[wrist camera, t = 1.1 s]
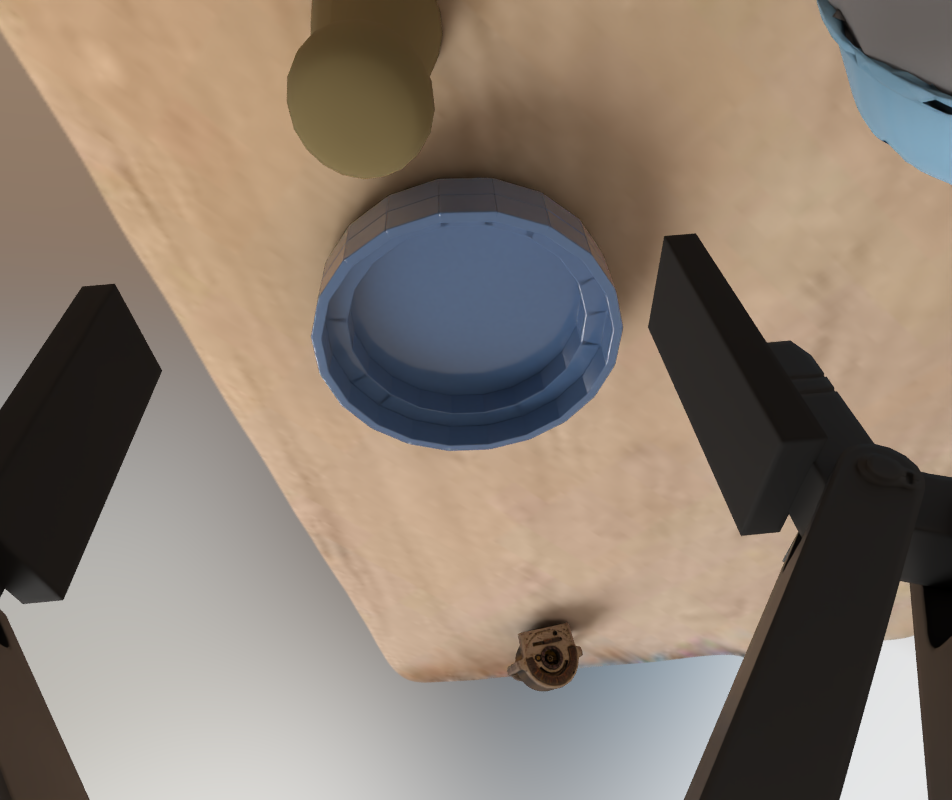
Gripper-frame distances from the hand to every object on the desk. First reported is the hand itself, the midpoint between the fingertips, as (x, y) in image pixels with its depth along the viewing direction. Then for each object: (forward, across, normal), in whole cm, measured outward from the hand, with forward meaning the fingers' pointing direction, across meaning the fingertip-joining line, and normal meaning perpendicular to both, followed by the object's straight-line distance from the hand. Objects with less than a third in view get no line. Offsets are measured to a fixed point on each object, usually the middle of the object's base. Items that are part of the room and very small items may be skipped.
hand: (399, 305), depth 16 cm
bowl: (+20, +2, -15) cm, 25 cm away
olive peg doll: (+20, -1, +1) cm, 20 cm away
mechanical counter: (+21, +7, -66) cm, 70 cm away
